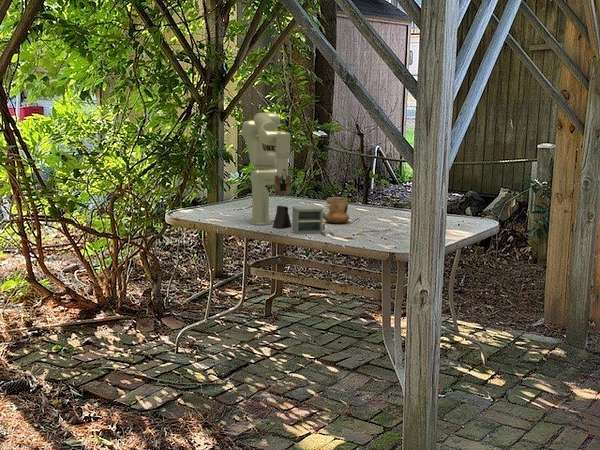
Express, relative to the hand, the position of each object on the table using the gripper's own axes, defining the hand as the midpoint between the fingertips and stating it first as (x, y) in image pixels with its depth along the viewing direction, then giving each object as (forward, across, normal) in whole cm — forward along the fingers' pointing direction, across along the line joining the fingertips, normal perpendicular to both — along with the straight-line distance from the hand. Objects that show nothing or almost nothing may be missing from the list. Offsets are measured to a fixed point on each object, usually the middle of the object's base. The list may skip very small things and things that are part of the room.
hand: (282, 190), depth 404 cm
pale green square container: (+23, +3, +16) cm, 28 cm away
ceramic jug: (+23, -31, +38) cm, 54 cm away
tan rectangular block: (+2, 0, 0) cm, 2 cm away
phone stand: (+23, -17, +3) cm, 29 cm away
